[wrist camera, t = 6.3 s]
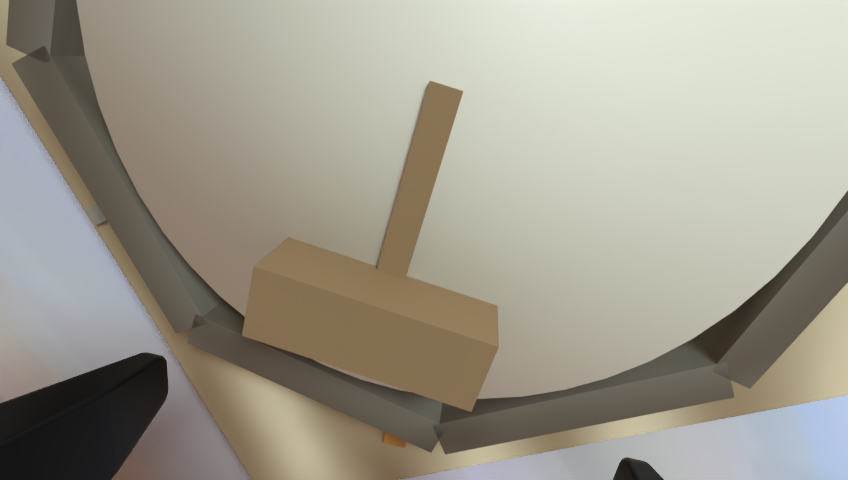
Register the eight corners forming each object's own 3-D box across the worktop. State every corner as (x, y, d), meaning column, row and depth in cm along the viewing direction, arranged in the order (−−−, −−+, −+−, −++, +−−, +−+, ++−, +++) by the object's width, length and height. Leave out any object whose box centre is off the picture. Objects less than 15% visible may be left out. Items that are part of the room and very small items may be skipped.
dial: (143, -584, 9) (-72, -990, 5) (1102, -307, 8) (1513, -560, 5) (112, 263, 16) (10, 316, 12) (639, 437, 15) (681, 541, 12)
